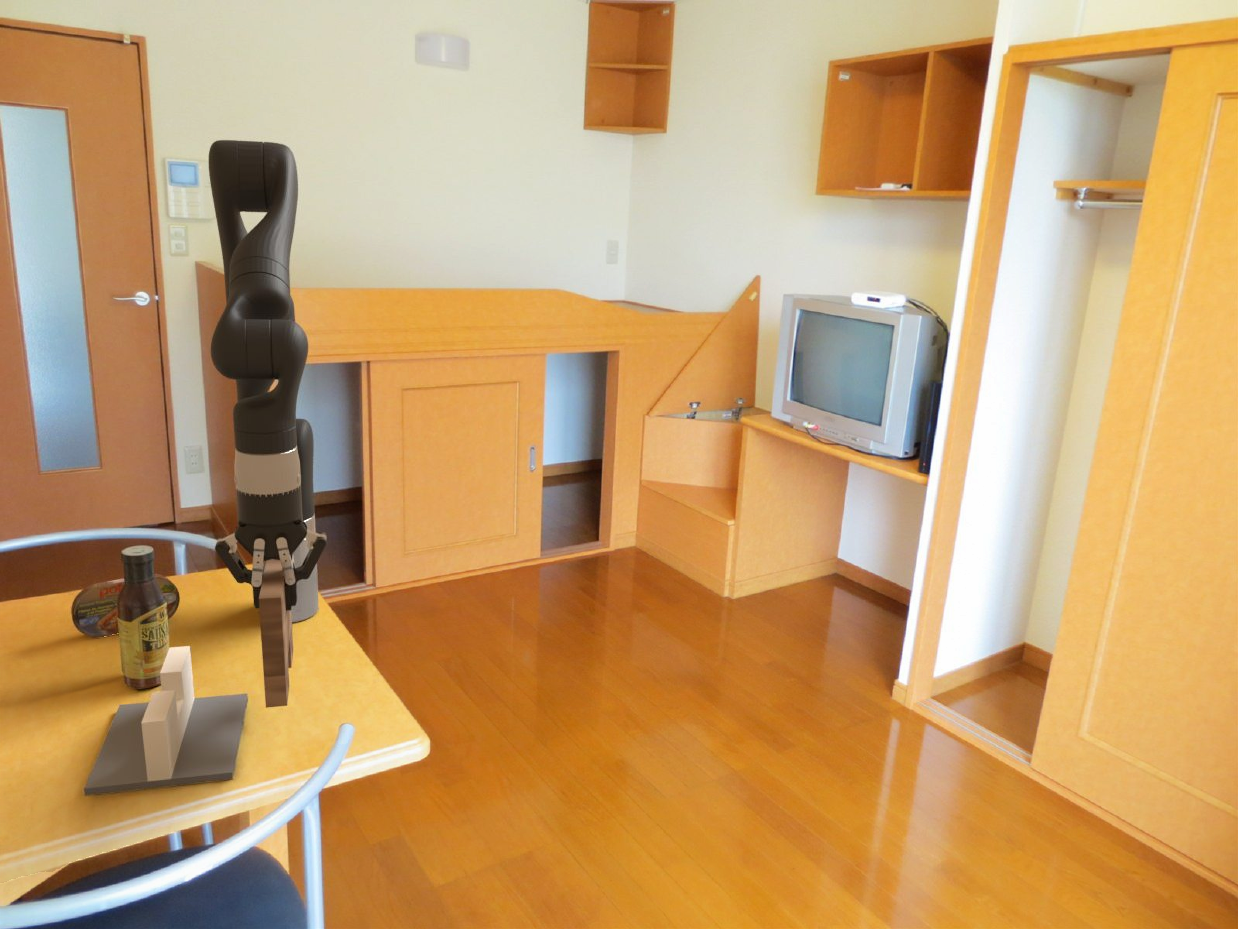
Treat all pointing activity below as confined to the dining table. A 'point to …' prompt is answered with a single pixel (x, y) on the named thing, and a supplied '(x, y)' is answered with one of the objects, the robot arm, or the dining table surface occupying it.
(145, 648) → the sauce bottle
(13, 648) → the dining table surface
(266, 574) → the walnut plate
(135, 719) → the slotted stand
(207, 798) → the dining table surface
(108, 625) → the tin
